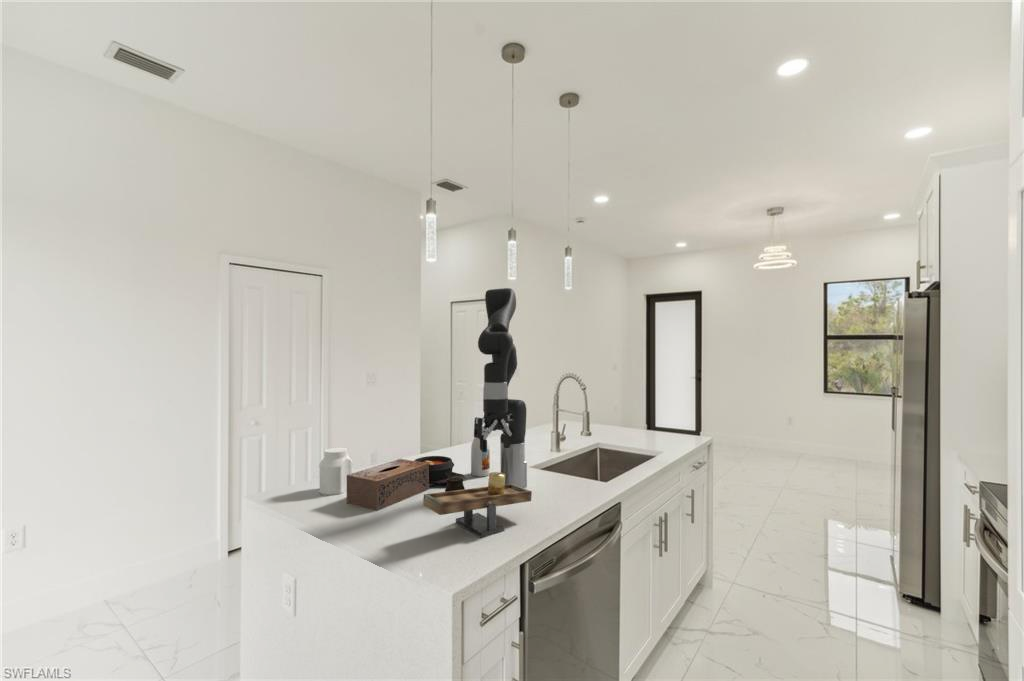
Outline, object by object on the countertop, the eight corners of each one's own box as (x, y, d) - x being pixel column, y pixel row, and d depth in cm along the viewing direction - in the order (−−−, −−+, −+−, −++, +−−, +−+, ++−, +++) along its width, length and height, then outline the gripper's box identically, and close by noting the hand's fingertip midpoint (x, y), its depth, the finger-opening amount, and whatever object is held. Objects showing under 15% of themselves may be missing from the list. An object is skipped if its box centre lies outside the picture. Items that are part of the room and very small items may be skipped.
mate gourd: (462, 505, 156) (461, 475, 156) (440, 504, 158) (440, 475, 158) (468, 498, 163) (467, 470, 163) (447, 497, 165) (447, 469, 165)
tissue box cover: (400, 484, 181) (400, 458, 181) (428, 490, 174) (428, 463, 174) (346, 504, 159) (346, 475, 159) (377, 511, 151) (377, 481, 152)
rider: (497, 491, 145) (499, 471, 146) (507, 495, 142) (508, 475, 142) (484, 492, 142) (485, 473, 143) (493, 497, 138) (495, 476, 139)
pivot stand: (477, 516, 146) (477, 491, 146) (504, 530, 135) (504, 503, 135) (455, 522, 141) (455, 496, 141) (481, 537, 130) (481, 509, 130)
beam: (511, 492, 152) (511, 483, 152) (531, 501, 144) (532, 491, 144) (422, 504, 133) (423, 494, 133) (440, 515, 124) (441, 503, 125)
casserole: (470, 477, 190) (470, 456, 190) (451, 491, 172) (451, 468, 172) (416, 472, 197) (416, 452, 197) (392, 485, 179) (392, 463, 179)
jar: (335, 496, 166) (335, 454, 166) (314, 493, 170) (314, 452, 170) (356, 486, 177) (356, 447, 177) (336, 484, 180) (336, 445, 181)
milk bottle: (475, 478, 188) (475, 428, 189) (468, 473, 195) (468, 425, 195) (492, 475, 192) (492, 427, 192) (485, 471, 199) (485, 424, 199)
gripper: (506, 394, 150) (506, 444, 149) (469, 397, 141) (469, 450, 141) (521, 396, 144) (521, 448, 143) (483, 399, 135) (483, 455, 135)
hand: (495, 449), depth 142 cm, fingers open, 8 cm apart
